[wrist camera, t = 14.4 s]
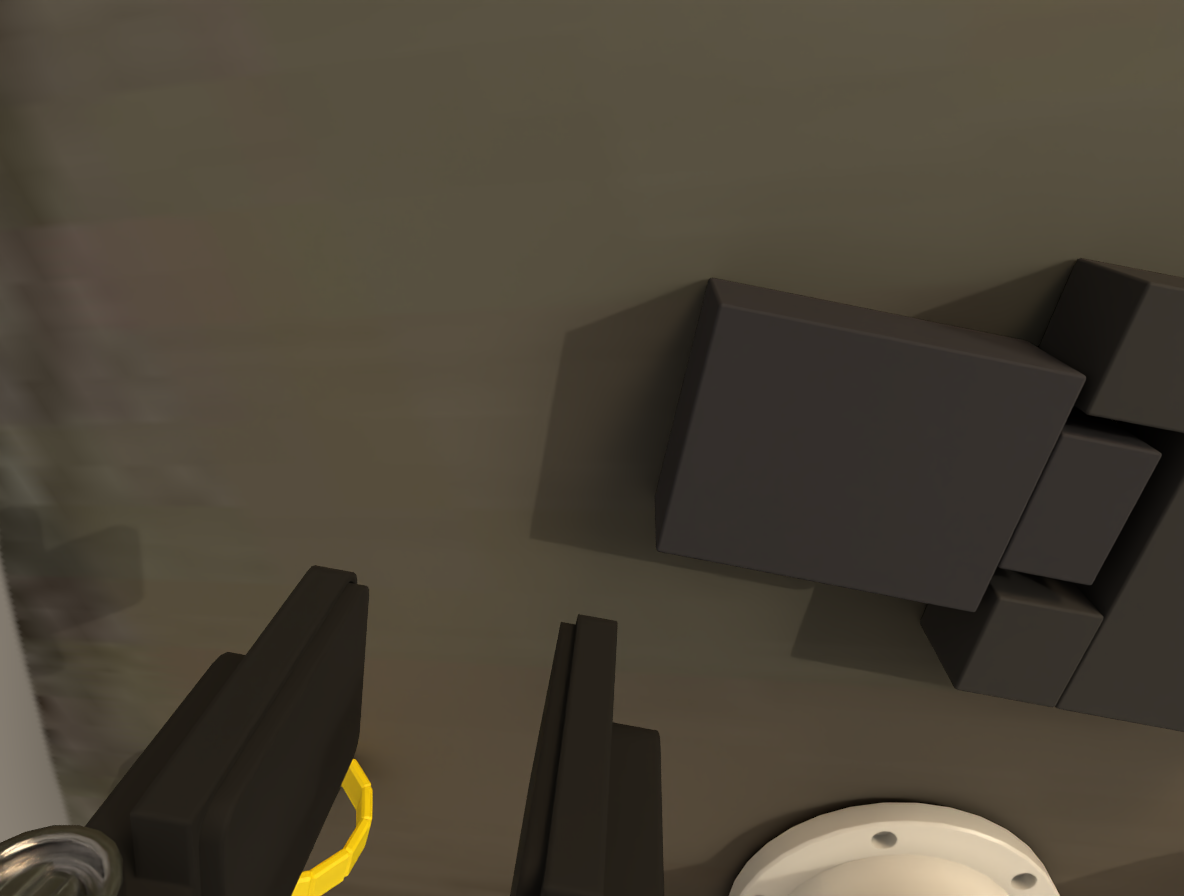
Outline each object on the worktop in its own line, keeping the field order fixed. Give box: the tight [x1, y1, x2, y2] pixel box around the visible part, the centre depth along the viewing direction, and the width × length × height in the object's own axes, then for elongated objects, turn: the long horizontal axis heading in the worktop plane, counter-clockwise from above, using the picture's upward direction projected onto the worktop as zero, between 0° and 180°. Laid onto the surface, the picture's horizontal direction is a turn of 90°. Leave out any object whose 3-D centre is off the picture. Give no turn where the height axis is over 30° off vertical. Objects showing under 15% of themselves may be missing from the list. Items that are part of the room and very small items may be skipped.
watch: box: [291, 759, 372, 896], centre depth 26 cm, size 6×3×6 cm, turn 73°
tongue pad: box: [655, 278, 1162, 612], centre depth 21 cm, size 7×12×3 cm, turn 79°
